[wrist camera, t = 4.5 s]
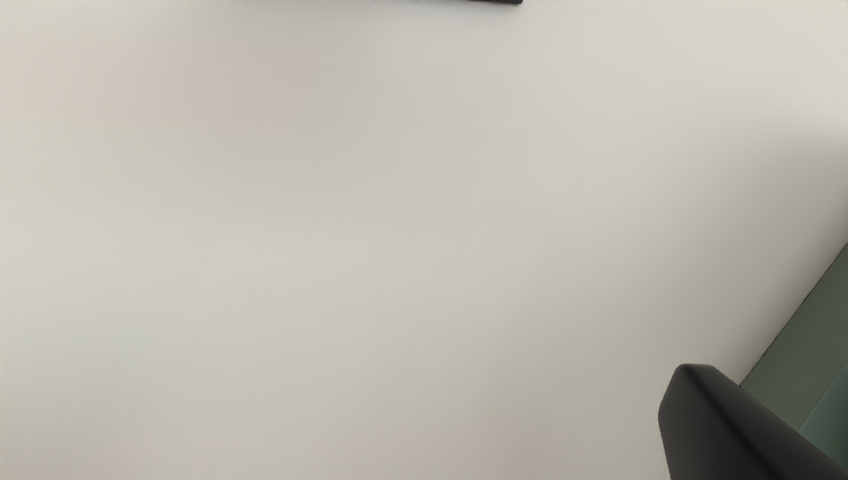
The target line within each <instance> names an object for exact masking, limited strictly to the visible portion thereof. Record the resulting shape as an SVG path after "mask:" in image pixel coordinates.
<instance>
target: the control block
mask: <svg viewBox="0 0 848 480" xmlns="http://www.w3.org/2000/svg"><path fill="white" fill-rule="evenodd" d="M740 388H742V389H743V390H744V391H745V392H747V393H748V394H749V395H751V396H752V397H753V398H754V399H756V400H757V401H758V402H759V403H761V404H762V405H763V406H765V407H766V408H767V409H768V410H770V411H771V412H772V413H773V414H775V415H776V416H777V417H779V418H780V419H781V420H782V421H784V422H785V423H786V424H787V425H789V426H790V427H791V428H793V429H794V430H795V431H796V432H798V433H799V434H800V435H801V436H803V437H804V438H805V439H806V440H808V441H809V442H810V443H812V444H813V445H814V446H815V447H817V448H818V449H819V450H820V451H822V452H823V453H824V454H826V455H827V456H828V457H829V458H831V459H832V460H833V461H834V462H836V463H837V464H838V465H840V466H841V467H842V468H843V469H845V470H846V471H847V472H848V244H847V245H846V247H845V248H844V249H843V251H842V252H841V253H840V255H839V256H838V257H837V259H836V260H835V261H834V263H833V264H832V265H831V267H830V268H829V269H828V270H827V272H826V273H825V274H824V276H823V277H822V278H821V280H820V281H819V282H818V284H817V285H816V286H815V288H814V289H813V290H812V292H811V293H810V294H809V296H808V297H807V298H806V300H805V301H804V302H803V304H802V305H801V306H800V308H799V309H798V310H797V312H796V313H795V314H794V316H793V317H792V318H791V320H790V321H789V322H788V324H787V325H786V326H785V328H784V329H783V330H782V332H781V333H780V334H779V336H778V337H777V338H776V340H775V341H774V342H773V344H772V345H771V346H770V348H769V349H768V350H767V352H766V353H765V354H764V355H763V357H762V358H761V359H760V361H759V362H758V363H757V365H756V366H755V367H754V369H753V370H752V371H751V373H750V374H749V375H748V377H747V378H746V379H745V381H744V382H743V383H742V385H741V386H740Z"/></svg>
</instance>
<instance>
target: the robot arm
mask: <svg viewBox="0 0 848 480" xmlns="http://www.w3.org/2000/svg"><path fill="white" fill-rule="evenodd" d="M658 422H659V428H660V432H661V437H662V441H663V446H664V450H665V455H666V459H667V464H668V468H669V473H670V477H671V480H848V472H847V471H846V470H845V469H843V468H842V467H841V466H840V465H838V464H837V463H836V462H834V461H833V460H832V459H831V458H829V457H828V456H827V455H826V454H824V453H823V452H822V451H820V450H819V449H818V448H817V447H815V446H814V445H813V444H812V443H810V442H809V441H808V440H806V439H805V438H804V437H803V436H801V435H800V434H799V433H798V432H796V431H795V430H794V429H793V428H791V427H790V426H789V425H787V424H786V423H785V422H784V421H782V420H781V419H780V418H779V417H777V416H776V415H775V414H773V413H772V412H771V411H770V410H768V409H767V408H766V407H765V406H763V405H762V404H761V403H759V402H758V401H757V400H756V399H754V398H753V397H752V396H751V395H749V394H748V393H747V392H745V391H744V390H743V389H742V388H740V387H739V386H738V385H737V384H735V383H734V382H733V381H731V380H730V379H729V378H728V377H726V376H725V375H724V374H723V373H721V372H720V371H719V370H717V369H716V368H715V367H713V366H710V365H704V364H681V365H680V366H678V367H677V368H676V370H675V372H674V374H673V376H672V378H671V381H670V383H669V385H668V387H667V390H666V392H665V394H664V397H663V399H662V401H661V404H660V407H659V412H658Z"/></svg>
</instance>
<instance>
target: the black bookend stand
mask: <svg viewBox="0 0 848 480" xmlns="http://www.w3.org/2000/svg"><path fill="white" fill-rule="evenodd" d="M484 1H494V2H504V3H514V4H521V3H522V2H523V0H484Z"/></svg>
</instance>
